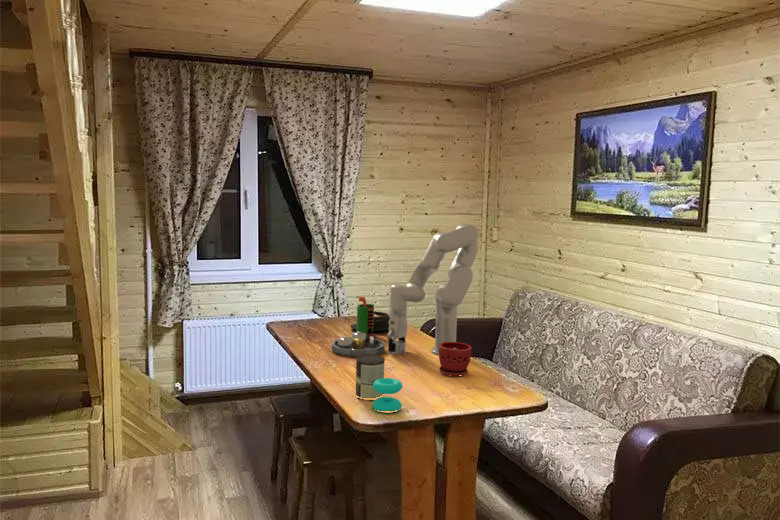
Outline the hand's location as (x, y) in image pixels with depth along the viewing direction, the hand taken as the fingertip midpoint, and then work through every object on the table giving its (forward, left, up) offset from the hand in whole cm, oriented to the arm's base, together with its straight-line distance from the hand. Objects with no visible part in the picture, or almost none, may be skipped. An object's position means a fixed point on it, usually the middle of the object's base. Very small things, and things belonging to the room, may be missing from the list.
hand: (396, 349), depth 301 cm
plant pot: (-35, +17, -2) cm, 39 cm away
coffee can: (-20, +60, -2) cm, 63 cm away
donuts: (-32, +69, -2) cm, 76 cm away
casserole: (+32, -35, -2) cm, 47 cm away
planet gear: (0, 0, -2) cm, 2 cm away
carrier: (+17, +6, -2) cm, 18 cm away
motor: (+28, -19, -2) cm, 34 cm away
